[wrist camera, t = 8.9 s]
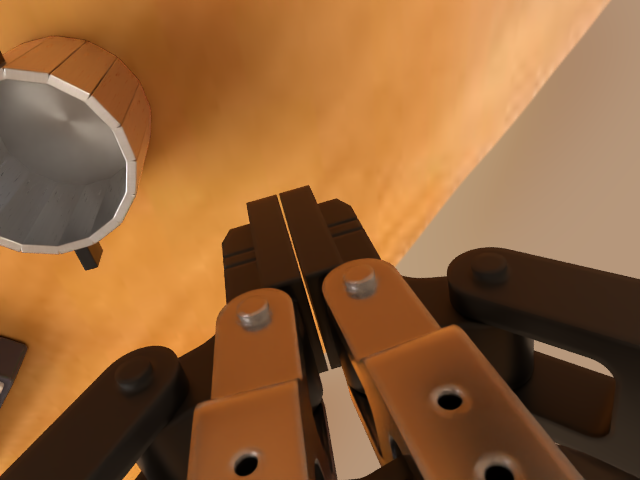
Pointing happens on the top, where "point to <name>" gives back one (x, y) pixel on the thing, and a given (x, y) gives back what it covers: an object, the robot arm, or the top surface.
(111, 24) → the top surface
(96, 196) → the pot
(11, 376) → the flat box
